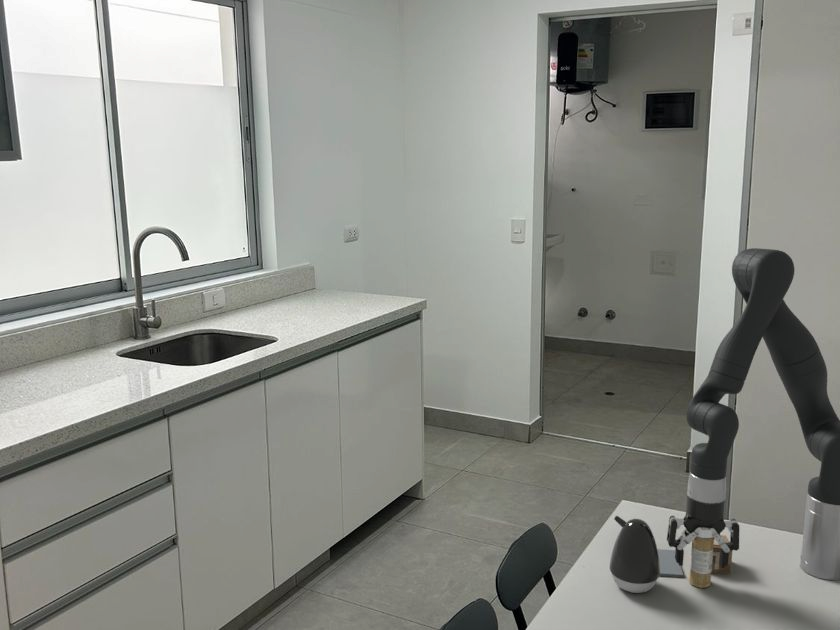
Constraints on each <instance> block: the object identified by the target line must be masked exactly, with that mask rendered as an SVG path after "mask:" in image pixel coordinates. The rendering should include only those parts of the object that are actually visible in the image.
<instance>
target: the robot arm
mask: <svg viewBox="0 0 840 630" xmlns="http://www.w3.org/2000/svg"><path fill="white" fill-rule="evenodd" d="M731 274H732V278H733V282H734V284H735V286H736V288H737V290H738V291H739V293H740V295H741V297H742V298H743V300H744V302H745V304H746V305H745V308H744V309H743V311H742V313H741V315H740V317H739V318H738V319H737V320H736V322H735V323H734V325H733V326H732V327H731V328H730V330H729V331H728V332H727V333H726V334H725V336H724V337H723V339H722V340H721V341H720V343H719V345H718V347H717V349H716V352H715V354H714V357H713V360H712V363H711V365H710V369H709V371H708V374H707V376H706V378H705V379H704V381H703V382H702V384H700V387H699V388H698V389H697V391H696V392H695V394H694V395H693V396H692V398H691V399H690V401H689V404H687V405H688V406H687V409H686V412H685V413H686V414H685V415H686V416H685V418H686V423H687V425H688V426H689V427H690V428H691V429H693V430H695V431H697V432H698V433H701V434H703V435H706V436H708V441H707V442H700V443H698V444H697V443H696V444H695V445H694V446H693V447H692V449H691V455H690V466H689V476H688V480H687V492H686V505H685V516H684V517H683V518H679V517H678V518H677V517H676V516H675V515H671V516H670V517H669V520H668V525H667V526H668V528H667V534H666V542H667V544H668V546H669V547H670V548H675V549H674V550H675V559H676V562H677V563H678V564H679V566H680V567H681V566H682V567H684V558H685V557H684V554H685V550H684V549H685V547H686V546H687V545H691V544H692V541H693V540H694V539H695V537H696V536H697V535H699V534H700V530H702V528H701V527H705V528H709V530H711V531H712V536H713V537H714V538H713V540H714V539H715V540H716V541H717V543H718V544H719V545H720V546H721V548H720V557H719V565H720V567H721V568H725V566H727V565H728V559H729V552H730V551H732V552H733V551H738V550H740V524H739V523H738V521H737V519H736V518H732V519H731V520H727V521H726V520H724V518H725V508H726V505H725V504H726V497H727V467H728V457H729V455H730V452H731V450H732V447H733V445H734V442H735V439H736V437H737V434H738V431H739V427H740V421H739V417H738V416H739V415H738V414H737V413H736V411H735V410H734V409H733V408H732V407H730V406H727V405H726V404H723V403H721V402H720V401H721V400H722V399H723V397H724V396H725V395H737V394H739V393H741V391H742V390H743V388H744V384H745V381H746V380H747V377H748V373H749V371H750V368H751V365H752V362H753V359H754V357H755V355H756V352H757V350H758V348H759V345H760V343H761V341H762V339H763V341H764V343H765V346H766V348H767V350H768V353H769V355H770V357H771V361H772V363H773V365H774V367H775V370H776V372H777V374H778V376H779V378H780V381H781V382H782V385H783V387H784V390H785V391H786V393H787V395H788V397H789V399H790V402H791V403H792V405H793V408H794V409H795V412H796V415H797V418H798V420H799V425H800V427H801V432H802V435H803V439H804V441H805V444H806V448H807V449H808V451H809V453H810V454H811V455H812V456H813V457H814V458H815V459H817V460H818V461H819V462H820V470H819V475H818V476H815V477H813V478H811V479H810V480H809V481H808V485H807V486H808V487H807V494H806V495H807V496H806V503H805V504H806V505H805V512H804V513H805V514H804V523H803V524H804V525H803V533H802V534H803V535H802V541H801V543H802V544H801V550H800V551H801V552H800V565H799V566H800V568H801V569H802V570H803V571H804V572H805V573H807V574H808V575H811V576H813V577H815V578H818V579H822V580H823V579H824V580H830V581H831V580H832V581H835V580H837V581H838V580H840V418H839V417H838V415H837V413H836V411H835V409H834V407H833V405H832V402H831V401H830V398H829V395H828V369H827V365H826V362H825V358H824V357H823V354H822V351H821V350H820V347H819V345H818V342H817V341H816V339H815V336H814V335H812V333H811V331H810V330H809V329H808V328H807V327H806V326H805V324H804V323H803V322H802V321H801V320H800V319H799V318H798V317H797V316H796V314H795V313H794V312H793V311H792V310H791V308H790V307H789V306H788V305H787V303H786V301H785V300H784V298H785V296H786V294H787V292H788V291H789V289H790V287H791V284H792V283H793V279H794V276H795V264H794V261H793V259H792V258H791V256H790V255H789V254H787V253H786V252H785V251H783V250H779V249H773V248H772V249H770V248H753V247H752V248H747V249H743V250H741V251H739V253H737V254H736V256H734V259H733V261H732V265H731ZM681 526H684V528H685V529H684V530H683V531H682V532H681V534H680V536H679V537H678V538H676V536H677V530H679V529H680V528H681ZM726 528H727V530H728V532H729V533H730V535H729V536H730V538H729V539H730V541H729V542H727V543H726V542H725V540H724V539H723V538H722V536H721V535H722V534H721V533H722V532H723V531H724V530H725V529H726Z"/></svg>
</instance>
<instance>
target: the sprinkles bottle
mask: <svg viewBox="0 0 840 630" xmlns="http://www.w3.org/2000/svg"><path fill="white" fill-rule="evenodd" d="M701 528H702V530H700V534H699V535H697V536H696V537H695V539H694V540H693V541H692V542H691V553H690V561H689V562H690V563H689V567H690V568H689V577H688V582H689V584H690V585H692V586H693V587H697V588H701V589H705V588H709V587H711V584H712V579H711V578H712V572H711V571H712V560H713V542H714V540H713V538H714V537H713V536H712V531H711V530H709V528H705V527H701Z"/></svg>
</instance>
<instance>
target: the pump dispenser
mask: <svg viewBox="0 0 840 630" xmlns="http://www.w3.org/2000/svg"><path fill="white" fill-rule="evenodd" d="M613 520H614V521H615V522H616V523H617V524H618V525H619V526H621V529H620V530H619V532H618V535H617V537H616V539H615V541H614V544H613V547H612V552H611V556H610V561H609V571H610V573H611V577H612V578H613V581H614V583H615V584H616V585H617V586H618V587H619V588H621V589H622V590H624V591H626V592H629V593H634V594H642V593H646V592H648V591H650V590H651V589H652V588H653V587H654V586H655V584H656V582H657V581H658V579H659V577H660V576H659V575H660V563H659V554H658V549H659V548H658V546H657V545H658V544H657V542H656V538H655V536H654V534H653V531H652V528H651V527H650V525H649V524H648V523H647V522H646V521H644V520H643V519H640V518H632V519H631V518H630V519H629V520H628V521H626V520H624V518H623V519H622V517H620V516H619V515H615V516H614V519H613Z"/></svg>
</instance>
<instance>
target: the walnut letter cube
mask: <svg viewBox="0 0 840 630" xmlns="http://www.w3.org/2000/svg"><path fill="white" fill-rule="evenodd" d="M720 535H721V536H722V538H723V539H724V540H725V542H726V543H727V542H730V541H729V538H728V536H727V535H726V534H725V535H724V534H723V535H722V534H720ZM720 548H721V546H720V545H719V544H718V543H717V541H716V540H715V539H714V542H713V560H712V571H711V573H715V574H716V573H717V574H731V572H732V571H731V570H732V563H733V562H732V561H733V560H732V559H733V550H732V551H730V552H729V559H728V565H727V566H725V568H721V567H720V565H719V557H720Z"/></svg>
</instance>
